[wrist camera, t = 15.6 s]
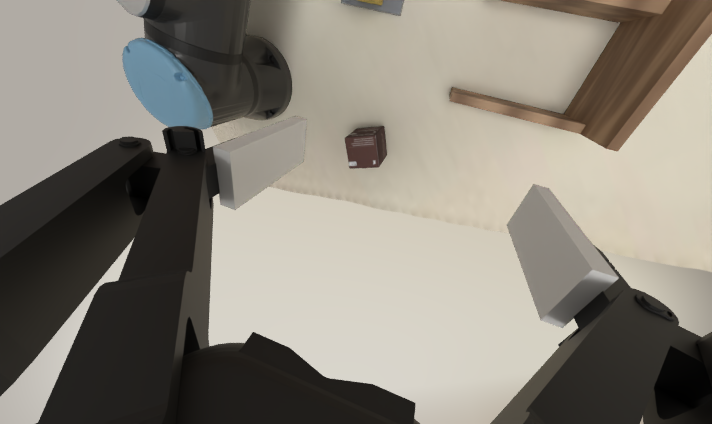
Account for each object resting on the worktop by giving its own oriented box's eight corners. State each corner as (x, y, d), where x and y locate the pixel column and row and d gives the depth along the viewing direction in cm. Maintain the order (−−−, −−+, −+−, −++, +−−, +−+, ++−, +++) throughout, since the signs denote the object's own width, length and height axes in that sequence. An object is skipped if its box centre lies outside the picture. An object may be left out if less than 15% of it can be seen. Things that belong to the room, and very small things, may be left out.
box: (385, 125, 50) (376, 134, 44) (387, 155, 53) (379, 167, 47) (355, 128, 52) (343, 137, 46) (359, 157, 55) (348, 169, 49)
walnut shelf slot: (449, 94, 44) (450, 108, 32) (488, -14, 36) (510, -51, 24) (566, 123, 41) (617, 151, 29) (637, 13, 33) (748, -14, 21)
